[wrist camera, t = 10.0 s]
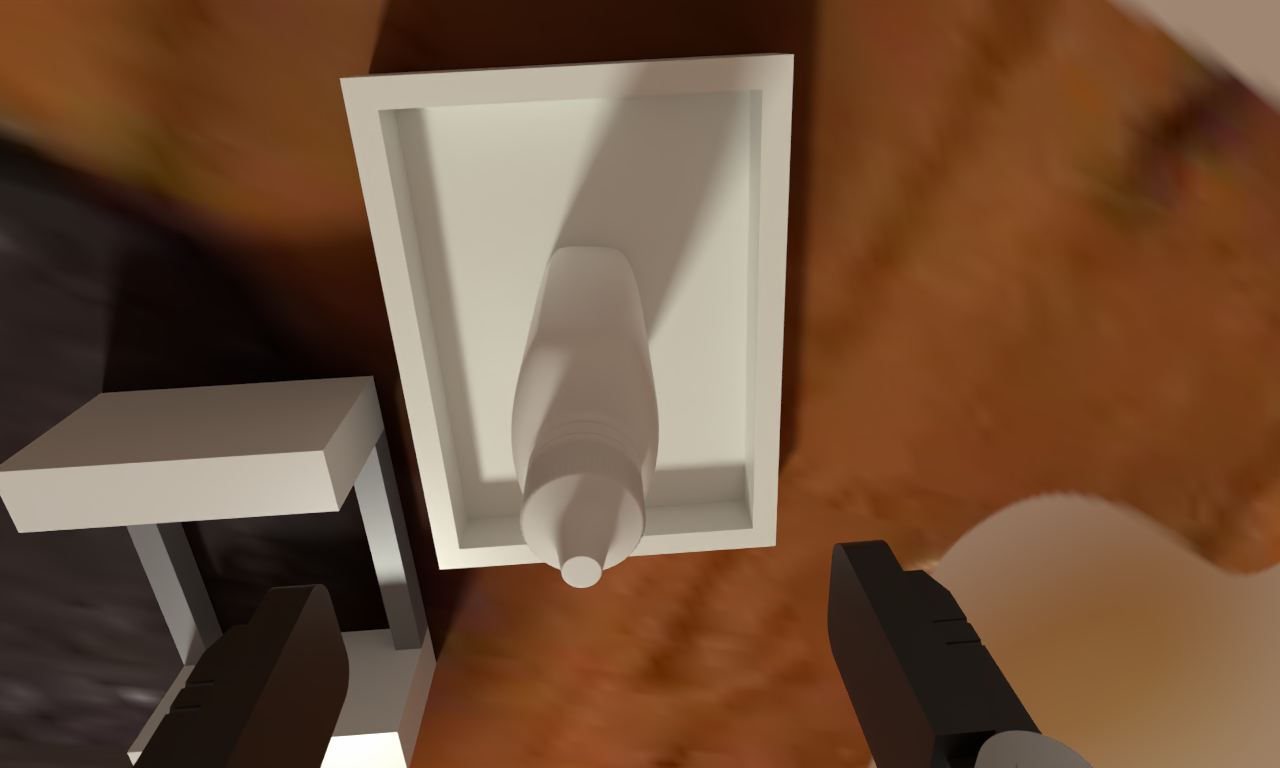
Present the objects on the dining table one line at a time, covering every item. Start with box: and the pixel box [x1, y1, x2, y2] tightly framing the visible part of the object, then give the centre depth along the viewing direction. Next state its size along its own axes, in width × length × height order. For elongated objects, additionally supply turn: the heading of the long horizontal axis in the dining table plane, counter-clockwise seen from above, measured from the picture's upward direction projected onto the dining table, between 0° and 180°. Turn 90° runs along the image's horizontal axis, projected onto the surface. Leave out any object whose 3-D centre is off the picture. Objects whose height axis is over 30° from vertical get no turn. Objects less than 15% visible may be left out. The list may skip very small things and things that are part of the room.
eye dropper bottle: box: [511, 246, 659, 588], centre depth 18 cm, size 4×6×12 cm
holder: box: [0, 376, 436, 768], centre depth 25 cm, size 13×9×5 cm
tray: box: [340, 53, 794, 570], centre depth 23 cm, size 16×12×2 cm
